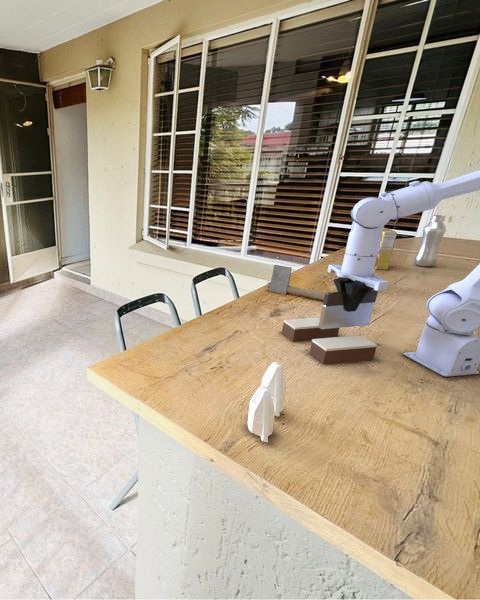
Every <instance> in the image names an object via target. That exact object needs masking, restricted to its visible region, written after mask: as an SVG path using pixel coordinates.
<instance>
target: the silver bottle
mask: <svg viewBox="0 0 480 600" xmlns="http://www.w3.org/2000/svg"><path fill="white" fill-rule="evenodd" d="M445 220H446V215H441V214H433V215H432V216H431V219H430V222H428V223H427V224H426V225H425V226H424V227H423V230H422V238H421V242H420V246H419V249H418V251H417V253H416V255H415V257H414V260H413V261H414V264H415V265H417V266H421V267H433V266H434V265H435V264H436V263H437V260H438V253H439V248H440V245H441V242H442V239H443V237H444V236H445V233H446V232H447V226H446V225H445V223H444V222H445Z"/></svg>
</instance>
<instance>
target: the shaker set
mask: <svg viewBox="0 0 480 600" xmlns="http://www.w3.org/2000/svg"><path fill="white" fill-rule="evenodd" d="M286 392H287V383H286V380H285V377H284V372H283V369H282V367H281V365H280V364H279V362H278V361H273V362H272V363H271V364H270V365H269V366H268V368H267V369H266V371H265V373H264V375H263V376H262V379H261V385H260V386H259V387H258V388H257V389H256V391H255V392H254V394H253V396H252V397H251V398H250V401H249V406H248V414H247V415H248V416H247V423H246V424H247V429H248V430H249V432H250V433H251V434H254V435H255V436H258V437H259V438H260V441H262V442H263V443H269V436H271V435H272V434H273V431H274V422H275V417H280V415H281V414H280V413H281V412H282V411H283V410H284V405H285V399H286Z"/></svg>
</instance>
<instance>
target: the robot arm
mask: <svg viewBox="0 0 480 600" xmlns="http://www.w3.org/2000/svg"><path fill="white" fill-rule="evenodd" d="M408 185H409V186H406V187H403V188H399V189H396V190H393V191H389V192H387V191H383V192H380V193H379V194H378V195H379V196H378V198H377V197H374V196H373V197H371V196H370V197H366V198H362V199H361V200H359V201H358V202H357V203H355V204H354V206H353V208H352V209H351V210H350V216H351V218H352V220H353V221H352V223H351V226H350V231H349V233H348V237H347V242H346V247H345V251H344V256H343V260H342V264H339V263H332V264H331V263H330V264H328V268H327V273H328V274H329V273H330V274H335V275H336V277H337V278H334V279H333V283H334V286H335V288H336V292H341V291H346V292H347V299H346V305H345V311H347V312H352V311H356V309H357V308H358V306H359V305H360V303H361V302H362V300H363V299H364V298H365V296H366V295H367V294H368V293H369V292H371V291H372V290H373V289H374V290H376V291H378V292H382V291H387V289H388V286H389V283H390V282H389V281H387V280H384V279H383V278H381V277H379V276H378V275H376V274H375V273H374V274H373V270H374V269H375V268H374V266H375V262H376V258H377V254H378V250H379V246H380V242H381V238H382V232H383V228H385V225H387V224H388V223H389V222H390V221H391V220H398V219H401V218H405V217H408V216H409V217H410V216H412V215H415V214H419V213H423V212H426V211H430V210H433V209H435V208H436V207H437V206H438V205H439V204H440V203H441V201H443V200H447V199H450V198H454V197H458V196H462V195H466V194H471V193H473V192H474V193H475V192H478V191H480V169H478V170H475V171H472V172H469V173H467V174H464V175H461V176H457V177H454V178H451V179H449V180H446V181H442V182H440V183H437V184H436V183H433V182H430V181H428V180H426V181H422V182H420V181H419V180H414V181H412V182H409V183H408ZM426 309H427V311H428V312H429V313H430V315H429V316H428V318H427V319H426V320H425V324H424V326H423V329H422V333H421V335H420V338H419V341H418V344H417V348H416V350H415V351H409V352H408V351H407V352H404V353H403V356H405V357H407V358H409V359H410V360H413V361H415V362H416V363H418V364H420V365H421V366H424V367H426V368H427V369H429V370H430V371H432V372H435V373H436V374H438V375H440V376H441V377H446V378H447V377H457V376H469V375H470V376H471V375H479V374H480V371H479V366H480V338H479V337H478V336H477V335H476V334H475V333H474V332H476V331H478V330H479V329H480V263H479V264H478V265H477V266H476V267H475V268H474V269H473V270H471V272H470V273H468V275H467V276H465V277H464V279H462V280H460V281H456V282H453V283H451V284H449V285H448V286H447V287H446V288H445V289H444V290H442V291H440V292H437V293H435V294H433V295H432V296H430V298H428V300H427V301H426Z"/></svg>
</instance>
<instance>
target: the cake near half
mask: <svg viewBox="0 0 480 600" xmlns="http://www.w3.org/2000/svg"><path fill="white" fill-rule="evenodd" d="M377 347H378V344H377V343H375V342H373V341H372V340H369V339H368V338H366V337H364V336H363V335H360V334H359V335H358V334H357V335H347V336H346V335H345V336H337V337H333V338H321V339H312V340H311V344H310V349H309V355H311V356H312V357H313V358H315V359H316V361H319V362H320V363H322V364H323V365H325V364H326V365H327V364H328V365H329V364H339V363H350V362H361V361H362V362H363V361H373V360H374V358H375V354H376V350H377Z"/></svg>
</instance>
